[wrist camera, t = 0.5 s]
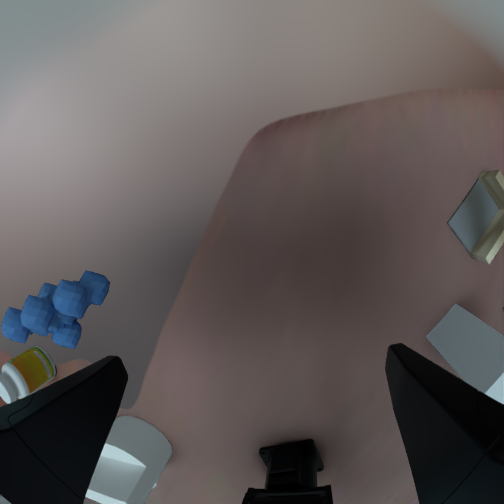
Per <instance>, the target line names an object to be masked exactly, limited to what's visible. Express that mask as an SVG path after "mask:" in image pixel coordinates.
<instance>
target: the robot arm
mask: <svg viewBox="0 0 504 504" xmlns="http://www.w3.org/2000/svg"><path fill="white" fill-rule="evenodd" d="M385 370H386V376H387V380H388V385H389V390H390V395H391V400H392V405H393V409H394V413H395V417H396V420H397V423H398V426H399V429H400V433H401V436H402V439H403V443H404V446H405V449H406V453H407V456H408V460H409V464H410V467H411V471H412V475H413V479H414V483H415V487H416V491H417V495H418V499H419V504H504V404H502V403H500V402H498V401H497V400H495V399H493V398H491V397H490V396H488V395H486V394H484V393H483V392H481V391H478V389H476V388H474V387H473V386H471V385H470V384H468V383H466V382H465V381H463V380H461V379H460V378H458V377H456V376H455V375H453V374H451V373H450V372H448V371H447V370H445V369H443V368H442V367H440V366H438V365H437V364H435V363H433V362H432V361H430V360H428V359H427V358H425V357H424V356H422V355H420V354H419V353H417V352H415V351H414V350H412V349H410V348H409V347H407V346H406V345H404V344H402V343H398V344H392V345H390V346H389V347H388V351H387V358H386V365H385ZM127 381H128V374H127V371H126V369H125V367H124V365H123V363H122V360H121V359H120V358H119V357H118V356H107V357H105V358H103V359H101V360H99V361H97V362H95V363H93V364H91V365H89V366H87V367H85V368H83V369H81V370H79V371H77V372H75V373H73V374H71V375H69V376H67V377H65V378H63V379H61V380H59V381H57V382H55V383H53V384H51V385H49V386H47V387H45V388H43V389H41V390H39V391H37V392H36V393H35V392H34V393H32V394H30V395H28V396H26V397H24V398H21V399H19V400H17V401H14V402H12V403H9V404H7V405H4V406H2V407H0V504H83V502H84V499H85V496H86V493H87V490H88V487H89V485H90V482H91V479H92V476H93V474H94V471H95V468H96V466H97V463H98V460H99V458H100V455H101V453H102V450H103V448H104V445H105V443H106V440H107V438H108V435H109V433H110V430H111V428H112V425H113V423H114V420H115V418H116V416H117V413H118V410H119V407H120V404H121V400H122V397H123V394H124V390H125V387H126V384H127ZM308 443H310V444H308ZM259 455H260V456H261V458H262V460H263V461H264V463H265V465H266V466H267V475H266V482H265V489H254V488H248V491H247V493H246V494H245V496H244V499H243V502H242V504H333V499H332V491H331V485H326V486H321V487H317V472H319V471H322V470H323V469H324V466H323V464H322V461H321V459H320V456H319V454H318V451H317V449H316V446H315V444H314V441H313V440H305V441H300V442H295V443H290V444H285V445H279V446H273V447H267V448H261V449H259Z"/></svg>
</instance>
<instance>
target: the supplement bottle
mask: <svg viewBox="0 0 504 504" xmlns="http://www.w3.org/2000/svg"><path fill="white" fill-rule="evenodd" d="M55 375H56V369H55V365H54V363H53V360H52V359H51V357H50V356H49V354H48V353H47V352H46V351H45V350H44V349H43V348H41V347H40V346H34V347H32V348H30V349H29V350H27V351H26V352H24V353H22V354H21V355H19V356H17V357H15V358H14V359H12V360H10V361H9V362H7V363H5V364H4V365H3V367H2V373H0V396H1V397H2V399H3V400H4V401H5V402H6V403H8V404H9V403H12V402H14V401H16V399H17V398H19V399H21V398H24V397H26V396H28V395H30V394H32V393H34V392H36V391H37V390H39V389H40V388H41V387H43V386H44V385H45V384H47V383H48V382H49V381H51V380H52V379H53V378H54V377H55Z"/></svg>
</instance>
